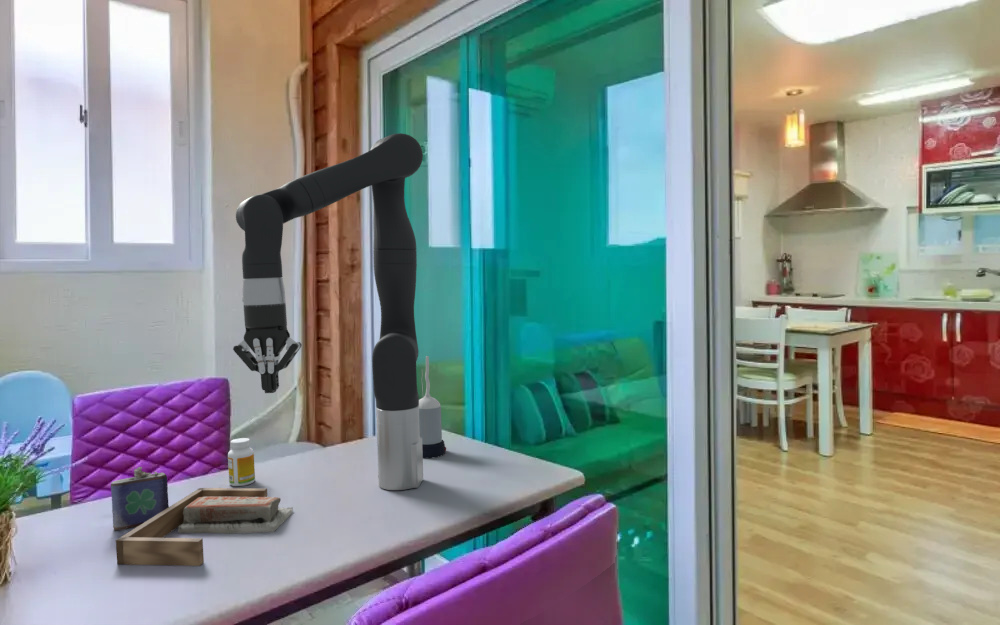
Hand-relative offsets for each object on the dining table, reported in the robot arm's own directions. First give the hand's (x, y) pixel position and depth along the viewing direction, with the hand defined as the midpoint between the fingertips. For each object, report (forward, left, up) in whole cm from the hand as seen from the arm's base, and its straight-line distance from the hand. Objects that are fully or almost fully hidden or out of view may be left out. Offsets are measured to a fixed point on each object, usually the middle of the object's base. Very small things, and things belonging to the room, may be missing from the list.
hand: (270, 392), depth 120 cm
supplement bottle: (+16, -18, -24) cm, 34 cm away
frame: (+10, +9, -24) cm, 28 cm away
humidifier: (-22, -41, -24) cm, 52 cm away
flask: (+24, +5, -24) cm, 34 cm away
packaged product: (+6, +4, -25) cm, 26 cm away
